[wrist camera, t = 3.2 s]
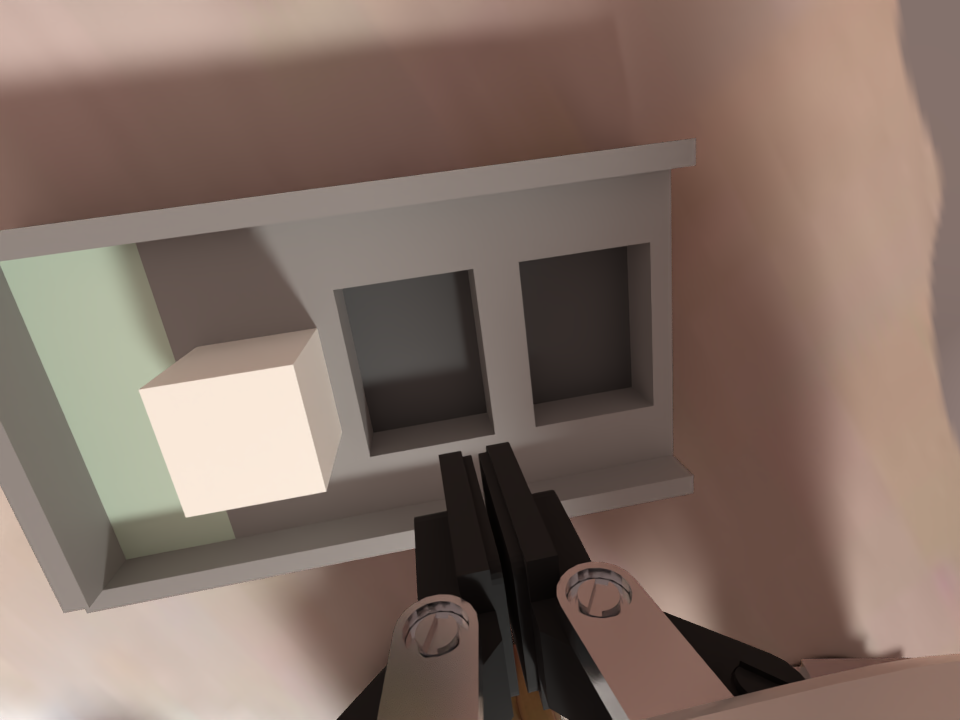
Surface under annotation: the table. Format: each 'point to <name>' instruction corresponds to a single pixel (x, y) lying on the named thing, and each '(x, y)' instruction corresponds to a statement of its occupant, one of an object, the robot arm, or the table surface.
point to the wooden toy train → (528, 700)
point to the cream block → (246, 422)
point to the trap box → (343, 360)
